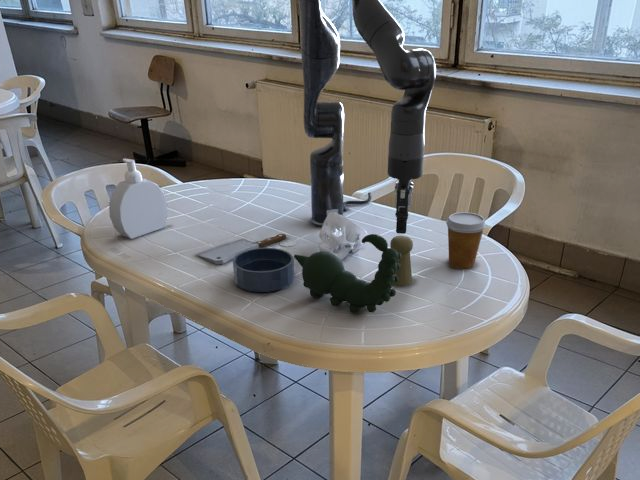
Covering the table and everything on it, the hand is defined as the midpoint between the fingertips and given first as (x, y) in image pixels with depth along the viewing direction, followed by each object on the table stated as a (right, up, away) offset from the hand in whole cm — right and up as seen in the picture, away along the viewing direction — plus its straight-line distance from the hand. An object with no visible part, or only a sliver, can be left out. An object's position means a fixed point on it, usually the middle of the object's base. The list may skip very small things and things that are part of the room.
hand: (402, 226), depth 140 cm
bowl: (-32, -11, +8) cm, 35 cm away
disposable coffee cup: (+17, -6, +16) cm, 24 cm away
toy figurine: (-13, -18, -2) cm, 23 cm away
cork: (0, -12, +7) cm, 14 cm away
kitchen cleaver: (-39, -1, +25) cm, 47 cm away
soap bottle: (-70, +5, +35) cm, 79 cm away
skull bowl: (-14, -3, +22) cm, 26 cm away
